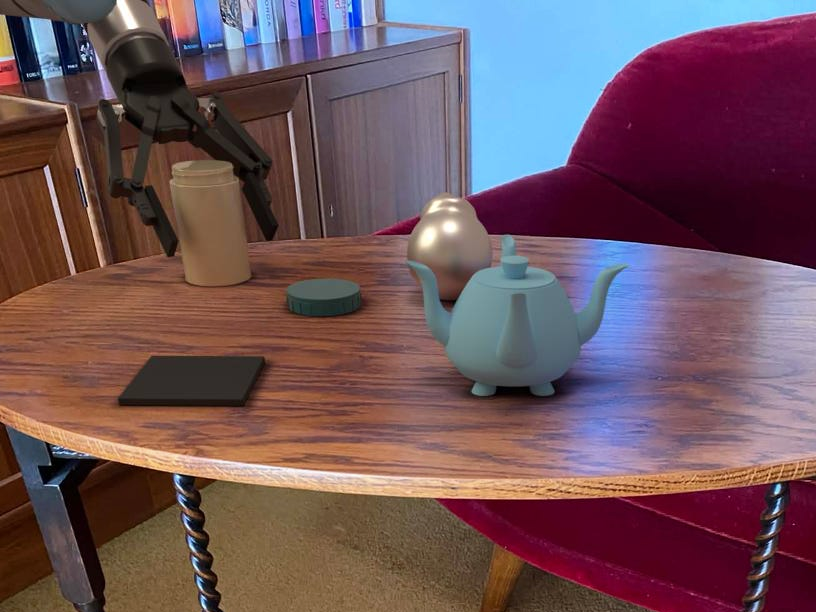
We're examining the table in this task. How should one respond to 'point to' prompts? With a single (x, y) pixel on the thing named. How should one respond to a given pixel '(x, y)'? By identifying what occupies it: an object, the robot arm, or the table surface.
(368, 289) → the table surface
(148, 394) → the plate
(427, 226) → the shiny gold rounded piece
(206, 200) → the jar
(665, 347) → the table surface
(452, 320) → the teapot
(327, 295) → the jar lid
